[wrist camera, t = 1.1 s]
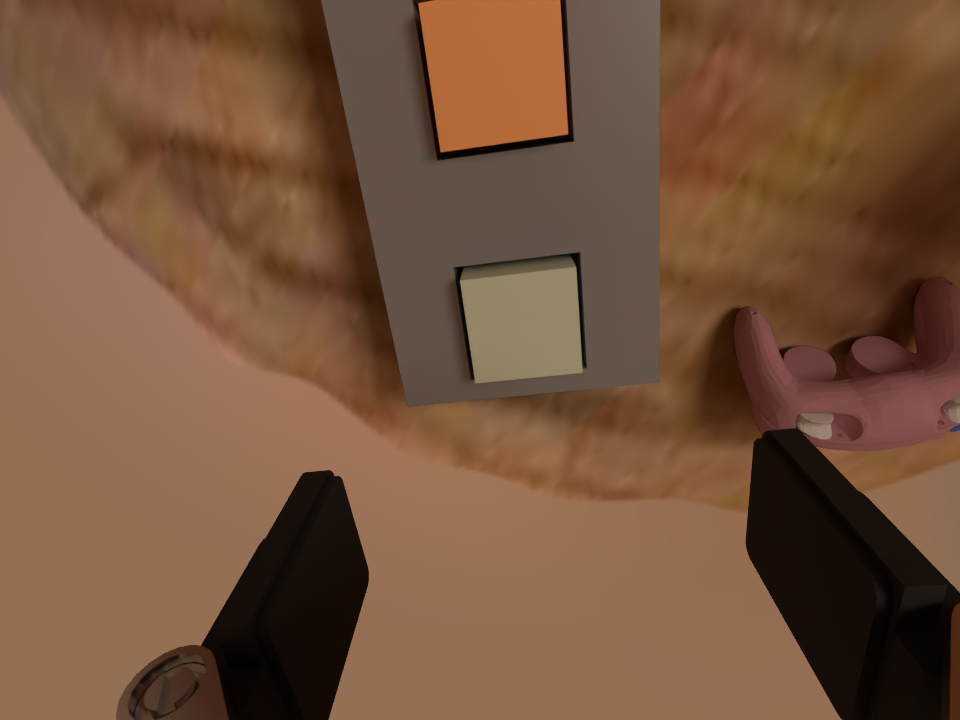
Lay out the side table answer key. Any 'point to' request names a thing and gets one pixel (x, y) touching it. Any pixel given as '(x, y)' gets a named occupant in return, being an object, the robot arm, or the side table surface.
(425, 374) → the button panel
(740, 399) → the side table surface
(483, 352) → the button sage
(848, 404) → the video game controller
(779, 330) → the side table surface
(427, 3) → the button orange
